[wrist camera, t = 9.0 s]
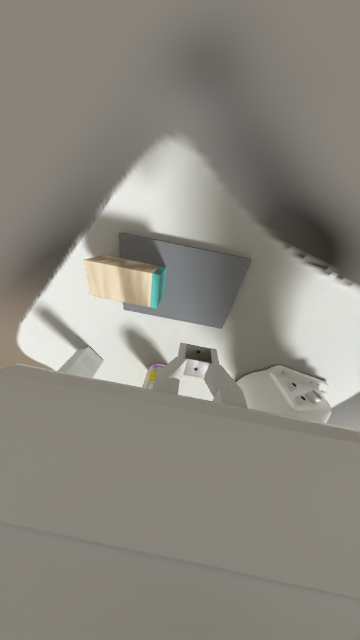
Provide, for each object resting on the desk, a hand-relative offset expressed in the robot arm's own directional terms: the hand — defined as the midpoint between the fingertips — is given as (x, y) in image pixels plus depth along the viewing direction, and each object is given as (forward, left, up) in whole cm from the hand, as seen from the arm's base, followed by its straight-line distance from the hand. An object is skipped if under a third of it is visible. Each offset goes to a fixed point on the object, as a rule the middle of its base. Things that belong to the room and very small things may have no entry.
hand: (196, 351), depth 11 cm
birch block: (+5, 0, -12) cm, 13 cm away
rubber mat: (+3, 0, -16) cm, 16 cm away
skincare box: (+23, +24, -16) cm, 36 cm away
